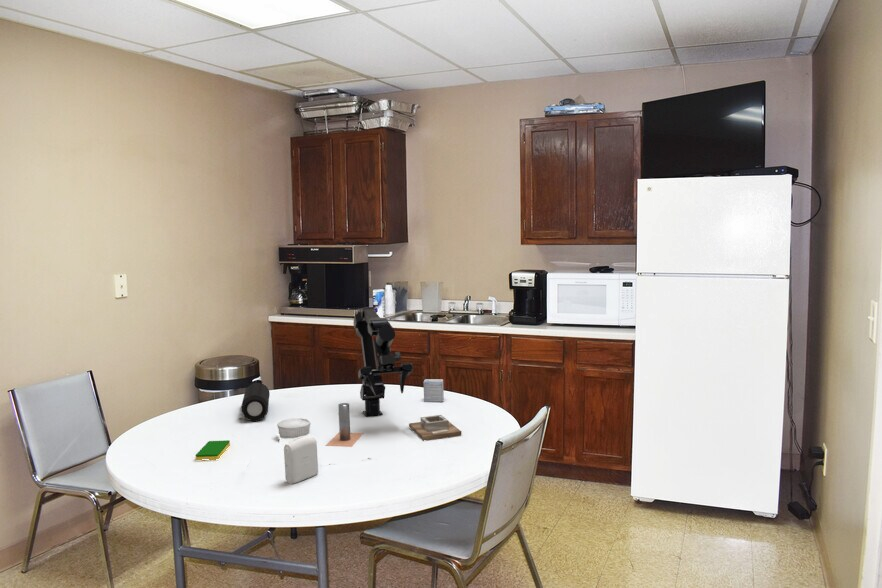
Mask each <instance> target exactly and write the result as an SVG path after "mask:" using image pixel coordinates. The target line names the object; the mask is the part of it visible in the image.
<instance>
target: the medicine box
mask: <svg viewBox="0 0 882 588" xmlns="http://www.w3.org/2000/svg"><path fill="white" fill-rule="evenodd" d="M444 400H445V396H444V379H442V378H440V379H436V378H435V379H434V378H431V379H430V378H429V379H424V381H423V402H424V403H443V402H444Z"/></svg>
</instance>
